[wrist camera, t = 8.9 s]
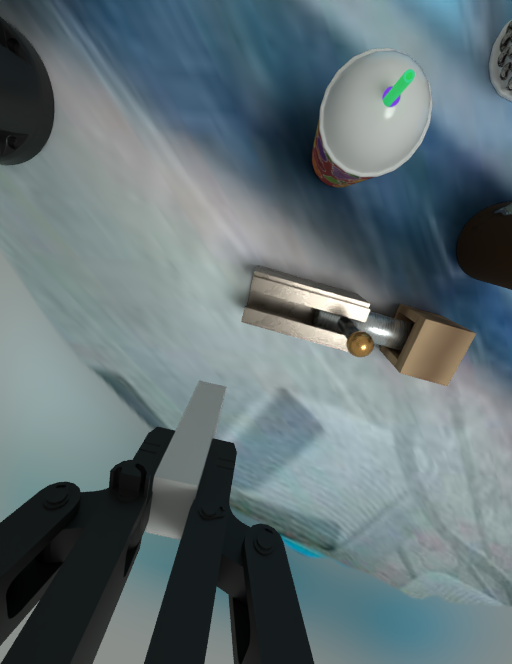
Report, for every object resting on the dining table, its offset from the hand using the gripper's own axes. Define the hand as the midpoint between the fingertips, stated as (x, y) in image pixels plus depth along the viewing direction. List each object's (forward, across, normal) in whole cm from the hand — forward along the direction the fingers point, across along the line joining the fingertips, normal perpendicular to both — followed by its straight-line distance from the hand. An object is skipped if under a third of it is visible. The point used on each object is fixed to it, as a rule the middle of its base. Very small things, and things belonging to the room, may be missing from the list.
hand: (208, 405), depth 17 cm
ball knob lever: (+25, +17, +1) cm, 31 cm away
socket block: (+27, +23, 0) cm, 35 cm away
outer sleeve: (+27, +7, +1) cm, 28 cm away
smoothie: (+27, +7, +19) cm, 34 cm away
